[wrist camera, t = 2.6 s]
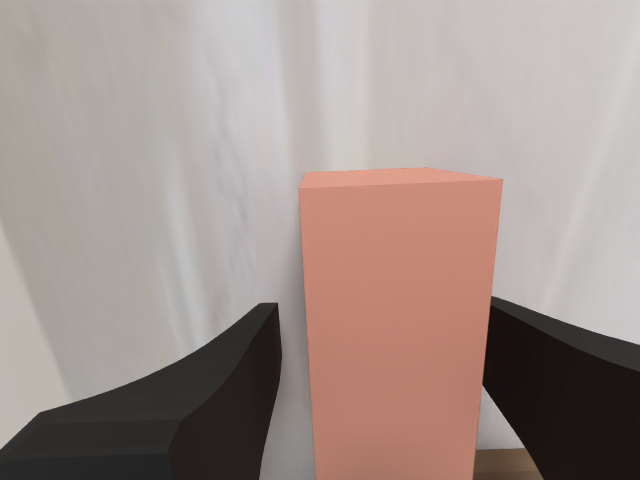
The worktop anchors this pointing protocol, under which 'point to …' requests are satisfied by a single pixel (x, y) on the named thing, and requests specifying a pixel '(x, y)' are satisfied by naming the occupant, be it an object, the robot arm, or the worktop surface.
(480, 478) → the cradle
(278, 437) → the worktop surface
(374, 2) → the worktop surface
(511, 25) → the worktop surface
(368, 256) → the block
